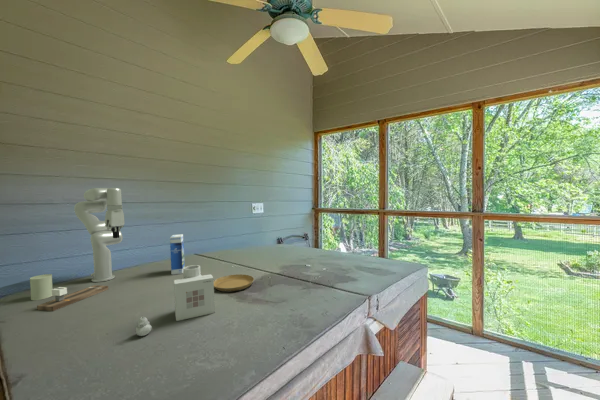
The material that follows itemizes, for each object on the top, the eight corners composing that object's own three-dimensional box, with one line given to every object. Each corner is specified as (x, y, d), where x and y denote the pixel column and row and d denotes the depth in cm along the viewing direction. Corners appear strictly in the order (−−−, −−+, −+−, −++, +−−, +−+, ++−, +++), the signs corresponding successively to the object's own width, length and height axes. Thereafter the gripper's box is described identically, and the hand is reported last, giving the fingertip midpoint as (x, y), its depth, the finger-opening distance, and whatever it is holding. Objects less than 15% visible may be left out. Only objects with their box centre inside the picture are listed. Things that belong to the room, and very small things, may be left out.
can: (56, 295, 156) (55, 274, 155) (35, 301, 147) (34, 279, 147) (48, 293, 159) (47, 272, 159) (27, 299, 151) (25, 277, 151)
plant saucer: (223, 297, 147) (223, 290, 146) (205, 286, 165) (205, 280, 165) (262, 285, 162) (261, 280, 162) (241, 277, 181) (241, 272, 180)
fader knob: (52, 301, 140) (51, 289, 140) (59, 298, 144) (59, 286, 144) (60, 301, 139) (59, 289, 139) (67, 299, 143) (66, 287, 143)
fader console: (37, 309, 136) (37, 305, 136) (94, 288, 165) (94, 285, 165) (53, 311, 134) (53, 306, 134) (108, 289, 163) (108, 285, 163)
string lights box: (182, 273, 191) (181, 236, 190) (170, 275, 189) (169, 237, 188) (184, 268, 204) (183, 233, 203) (173, 269, 202) (172, 234, 201)
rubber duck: (132, 338, 106) (131, 318, 105) (141, 330, 112) (141, 310, 112) (146, 338, 106) (145, 317, 106) (155, 329, 112) (154, 310, 112)
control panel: (176, 321, 119) (174, 275, 119) (173, 306, 136) (172, 265, 135) (214, 312, 127) (213, 269, 126) (208, 299, 143) (206, 261, 143)
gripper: (119, 207, 178) (121, 235, 178) (98, 209, 163) (100, 240, 164) (129, 207, 176) (131, 236, 177) (109, 208, 162) (110, 240, 162)
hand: (116, 237), depth 170 cm, fingers closed
